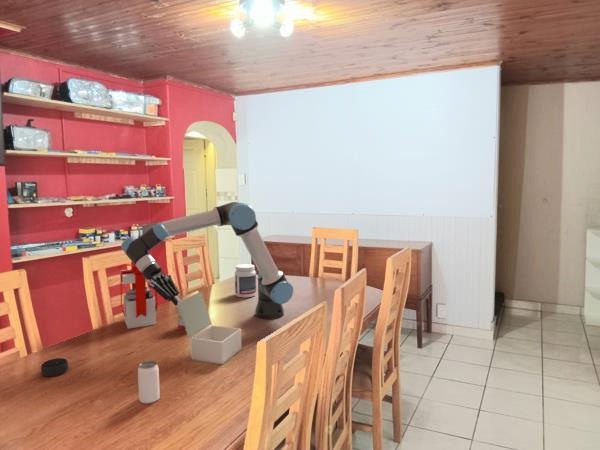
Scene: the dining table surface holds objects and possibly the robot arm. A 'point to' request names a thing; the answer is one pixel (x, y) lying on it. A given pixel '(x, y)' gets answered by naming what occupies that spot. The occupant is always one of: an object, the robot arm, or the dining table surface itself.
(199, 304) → the lid
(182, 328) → the ink box
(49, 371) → the smart speaker
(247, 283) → the supplement tub
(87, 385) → the dining table surface
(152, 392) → the can
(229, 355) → the storage box
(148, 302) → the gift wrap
